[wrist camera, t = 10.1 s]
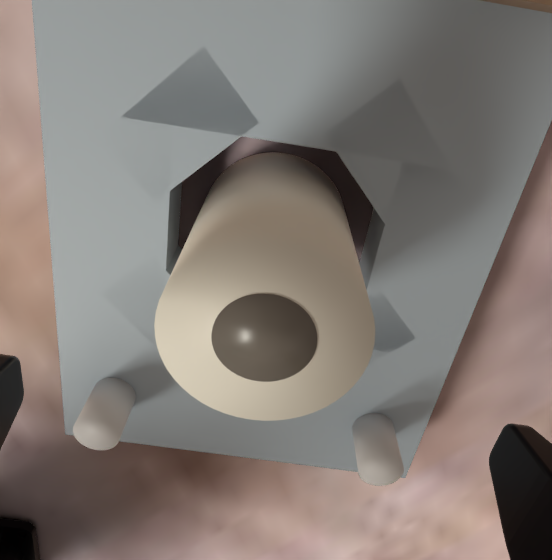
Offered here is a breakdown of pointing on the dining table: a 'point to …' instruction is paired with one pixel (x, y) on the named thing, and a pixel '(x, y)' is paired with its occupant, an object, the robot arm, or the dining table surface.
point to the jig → (291, 130)
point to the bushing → (267, 295)
